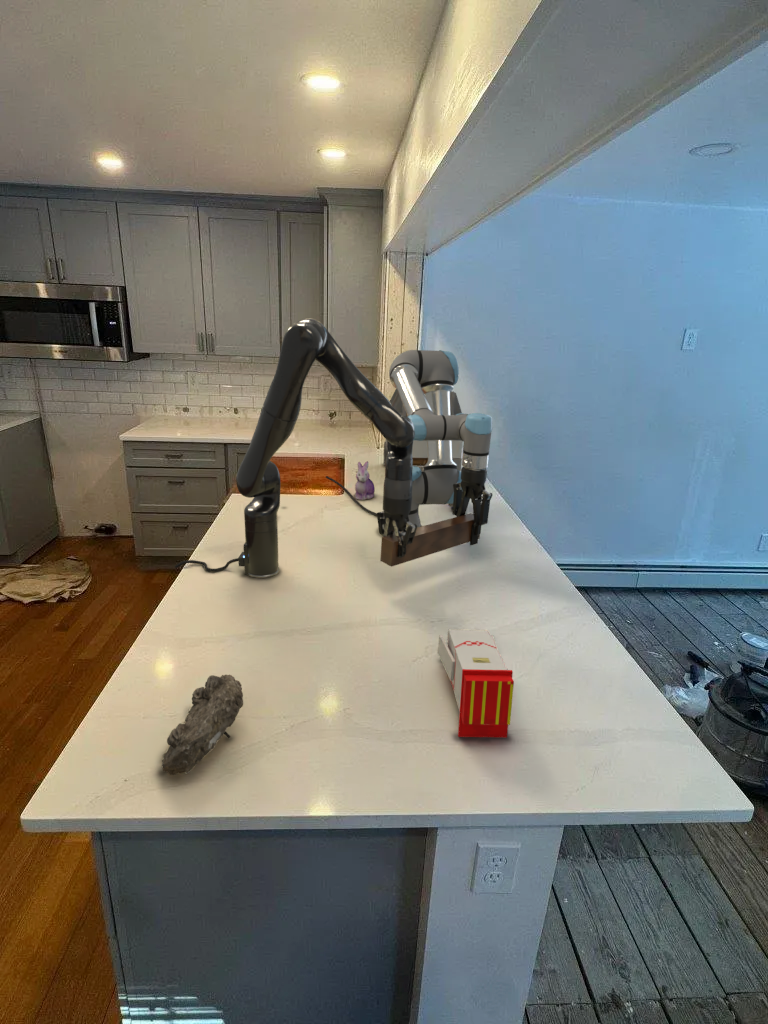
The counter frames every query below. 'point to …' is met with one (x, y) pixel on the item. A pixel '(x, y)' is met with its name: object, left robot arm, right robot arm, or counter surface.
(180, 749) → the fossil
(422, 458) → the transformer
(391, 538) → the plank
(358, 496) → the figurine
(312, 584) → the counter surface
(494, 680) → the toy
